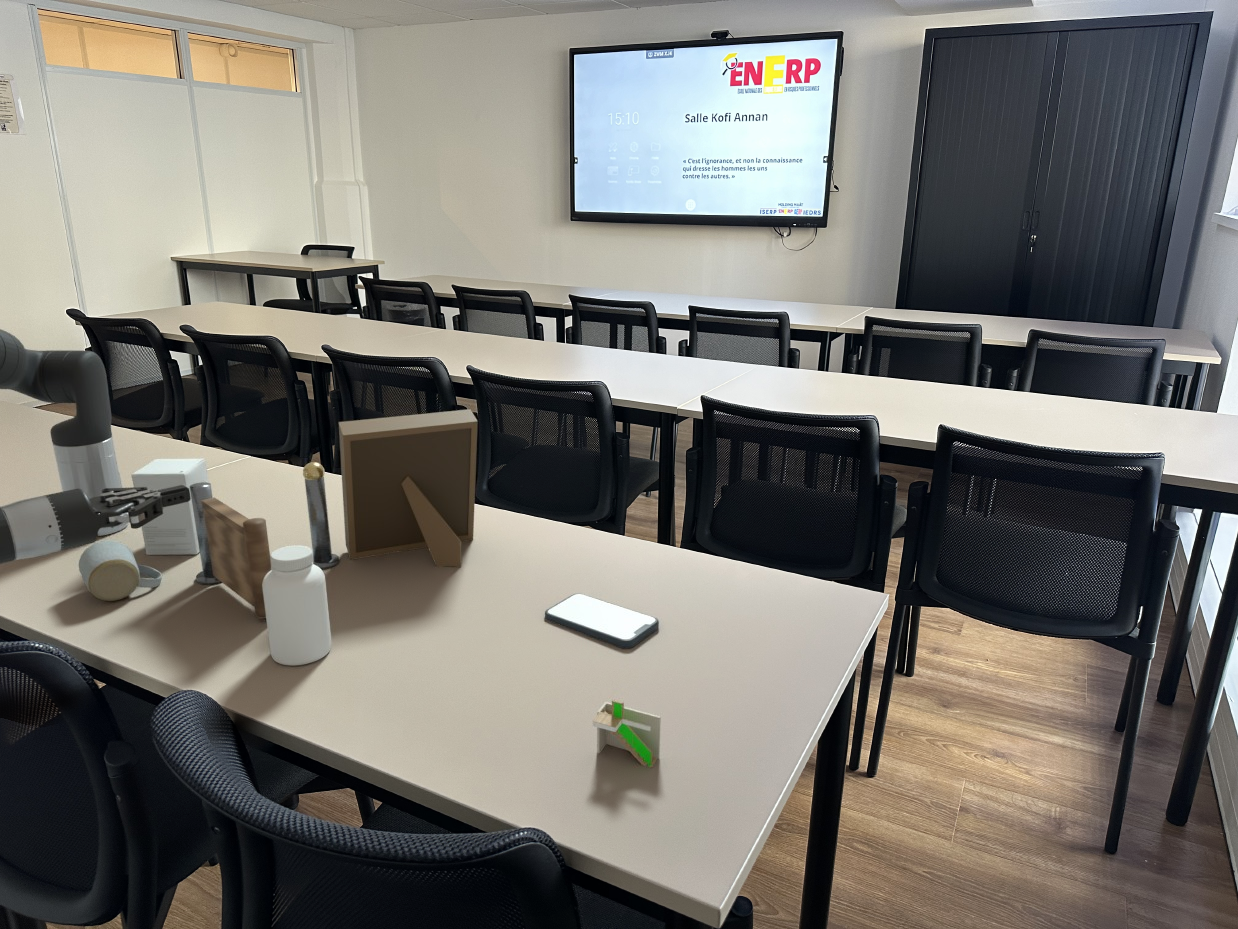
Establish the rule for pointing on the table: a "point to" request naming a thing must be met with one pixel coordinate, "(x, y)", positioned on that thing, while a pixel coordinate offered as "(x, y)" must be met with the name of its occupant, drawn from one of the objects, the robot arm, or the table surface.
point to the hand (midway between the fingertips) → (187, 492)
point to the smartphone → (602, 620)
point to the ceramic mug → (114, 571)
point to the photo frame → (409, 484)
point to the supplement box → (177, 521)
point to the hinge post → (202, 531)
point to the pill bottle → (296, 607)
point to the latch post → (318, 516)
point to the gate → (238, 551)
